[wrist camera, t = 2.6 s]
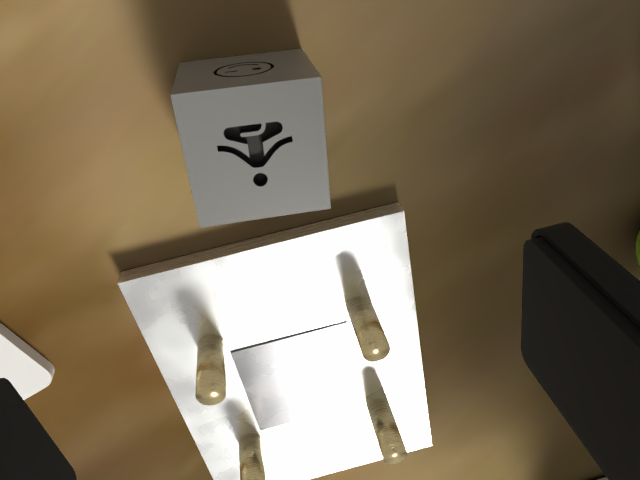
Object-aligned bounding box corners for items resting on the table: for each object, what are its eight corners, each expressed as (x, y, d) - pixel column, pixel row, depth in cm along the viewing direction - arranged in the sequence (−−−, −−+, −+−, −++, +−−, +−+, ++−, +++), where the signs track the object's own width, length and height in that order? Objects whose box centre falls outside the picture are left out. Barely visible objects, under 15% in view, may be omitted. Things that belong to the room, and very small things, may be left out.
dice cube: (301, 48, 22) (321, 76, 18) (311, 160, 25) (330, 208, 20) (179, 62, 21) (170, 94, 17) (202, 175, 24) (199, 227, 20)
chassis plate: (398, 201, 26) (428, 248, 23) (426, 433, 36) (452, 493, 32) (120, 271, 26) (104, 331, 22) (224, 488, 35) (225, 556, 31)
